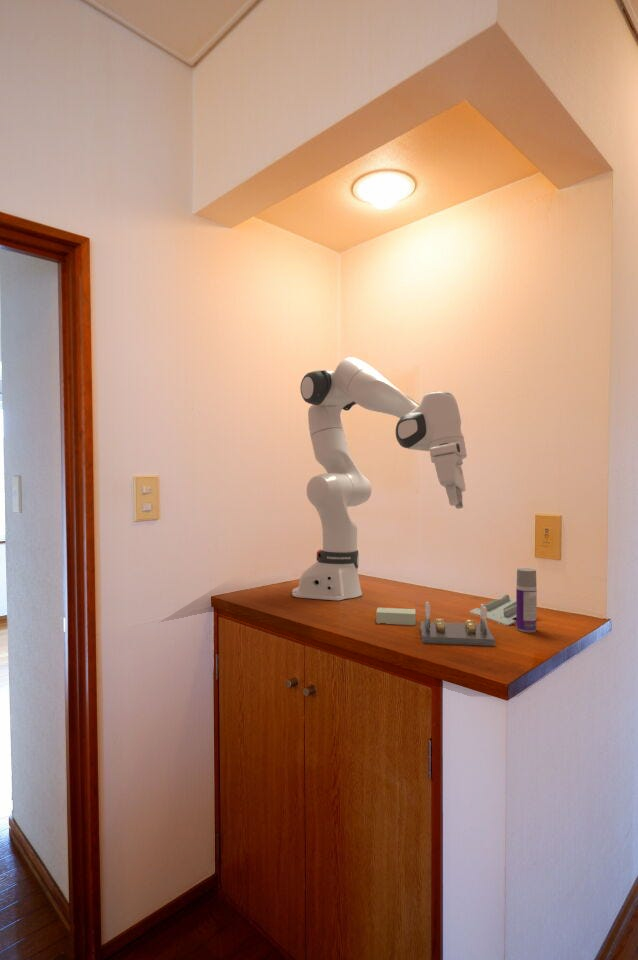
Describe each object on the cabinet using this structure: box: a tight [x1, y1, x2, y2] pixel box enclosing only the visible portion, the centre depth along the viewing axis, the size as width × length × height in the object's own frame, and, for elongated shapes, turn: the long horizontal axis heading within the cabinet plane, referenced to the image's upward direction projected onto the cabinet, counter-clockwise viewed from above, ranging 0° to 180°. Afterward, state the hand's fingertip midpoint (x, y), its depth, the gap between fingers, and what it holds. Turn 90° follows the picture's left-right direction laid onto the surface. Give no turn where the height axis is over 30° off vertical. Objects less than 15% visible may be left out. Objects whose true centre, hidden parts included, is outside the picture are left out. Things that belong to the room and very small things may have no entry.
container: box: [515, 567, 538, 633], centre depth 134 cm, size 5×5×15 cm
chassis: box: [419, 601, 496, 647], centre depth 128 cm, size 16×13×8 cm
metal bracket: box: [469, 594, 516, 627], centre depth 147 cm, size 14×6×15 cm
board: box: [375, 607, 417, 626], centre depth 141 cm, size 10×5×3 cm, turn 80°
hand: (456, 506), depth 134 cm, fingers open, 8 cm apart
